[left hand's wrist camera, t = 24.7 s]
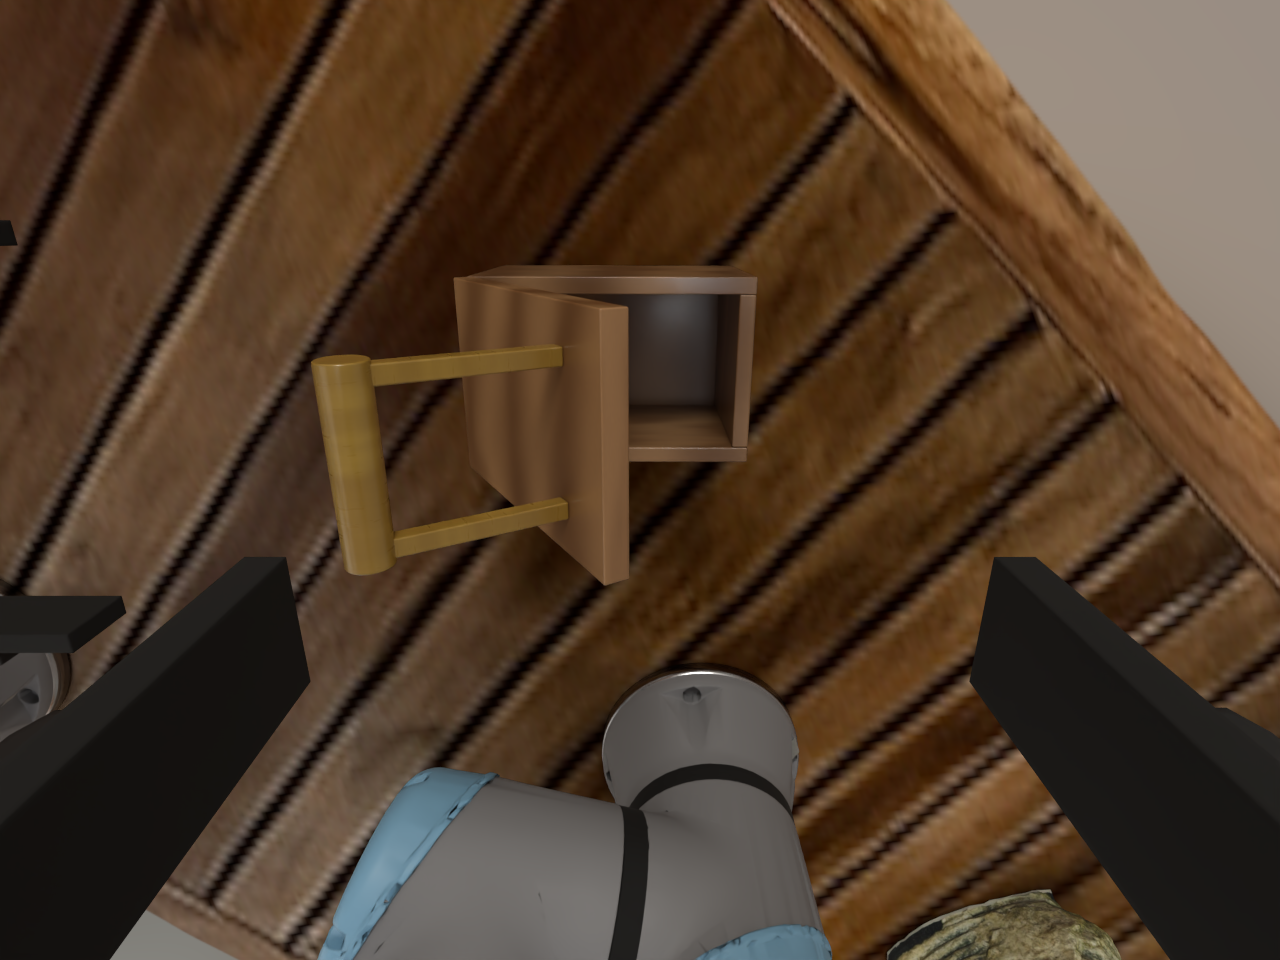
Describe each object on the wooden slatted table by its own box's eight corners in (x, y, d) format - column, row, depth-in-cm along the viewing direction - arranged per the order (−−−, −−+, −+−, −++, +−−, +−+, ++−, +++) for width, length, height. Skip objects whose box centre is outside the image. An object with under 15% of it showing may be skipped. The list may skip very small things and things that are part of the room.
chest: (731, 265, 43) (757, 277, 33) (724, 414, 46) (746, 462, 37) (504, 264, 43) (466, 276, 33) (513, 413, 46) (481, 461, 36)
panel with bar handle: (629, 306, 21) (318, 326, 17) (630, 579, 24) (369, 654, 20) (474, 276, 33) (268, 284, 29) (488, 463, 36) (305, 495, 32)
